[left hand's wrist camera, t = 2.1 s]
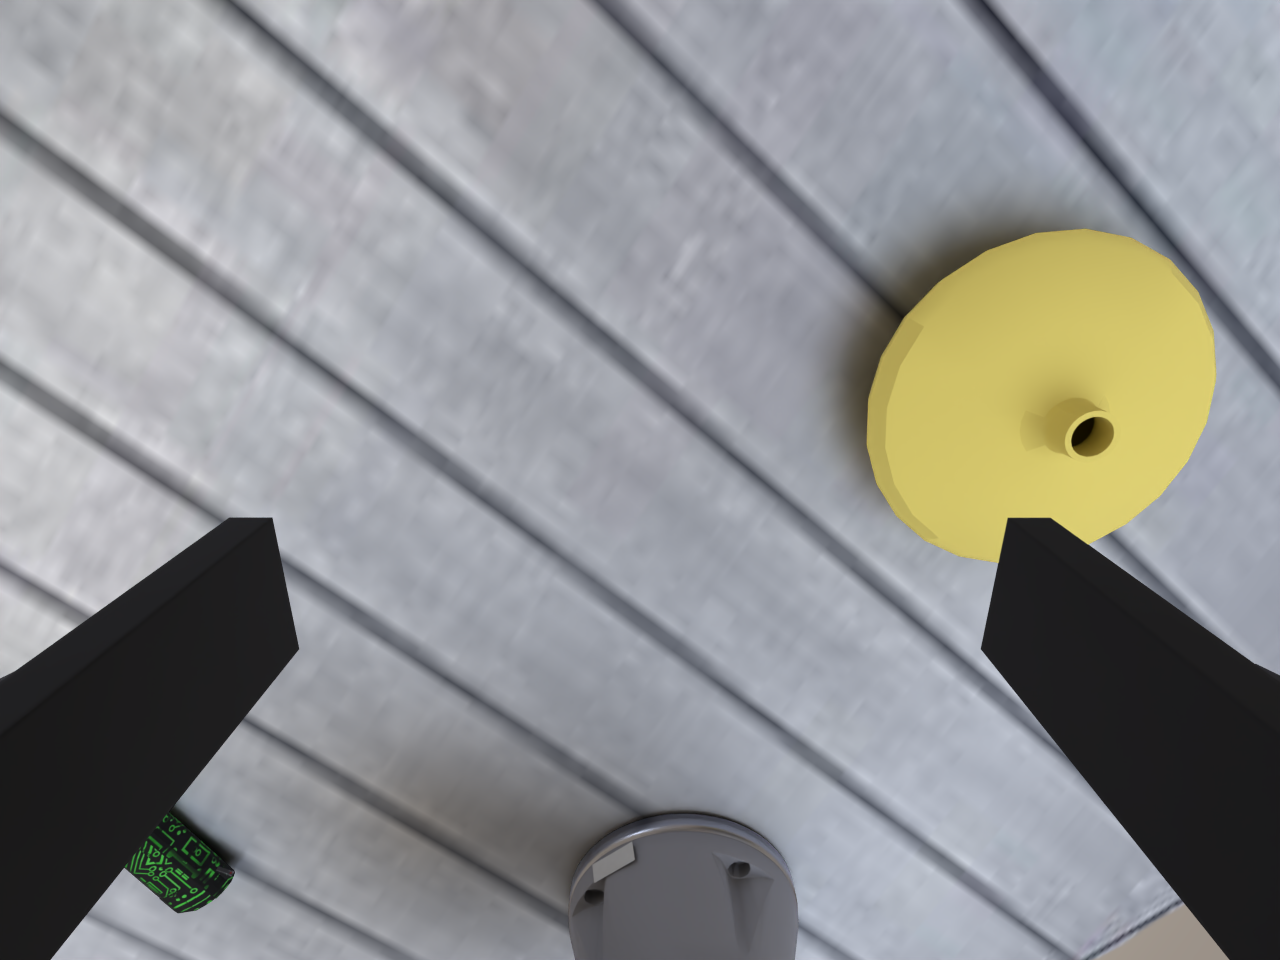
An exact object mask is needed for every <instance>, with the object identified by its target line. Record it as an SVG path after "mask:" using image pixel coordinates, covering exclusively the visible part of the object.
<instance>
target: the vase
mask: <svg viewBox="0 0 1280 960" xmlns="http://www.w3.org/2000/svg"><path fill="white" fill-rule="evenodd" d="M1215 382H1216V362H1215V346H1214V331H1213V328H1212V326H1211V323H1210V321H1209V318H1208V316H1207V313H1206V311H1205V308H1204V306H1203V303H1202V301H1201V298H1200V296H1199V293H1198V291H1197V290H1196V289H1195V288H1194V287H1193V285H1192V284H1191V283H1190V282H1189V281H1188V280H1187V279H1186V277H1185V276H1184V275H1183V274H1182V273H1181V272H1180V270H1179V269H1178V268H1177V267H1176V266H1175V265H1174V264H1173V262H1172V261H1171V260H1170V259H1168V258H1166V257H1165V256H1163V255H1161V254H1159V253H1157V252H1156V251H1154V250H1152V249H1150V248H1149V247H1147V246H1145V245H1143V244H1142V243H1140V242H1138V241H1136V240H1134V239H1133V238H1130V237H1125V236H1120V235H1115V234H1110V233H1105V232H1100V231H1095V230H1090V229H1076V230H1065V231H1054V232H1042V233H1035V234H1032V235H1029V236H1026V237H1023V238H1021V239H1018V240H1015V241H1012V242H1009V243H1007V244H1004V245H1001V246H998V247H995V248H992V249H990V250H987V251H985V252H984V253H982V254H981V255H979V256H978V257H976V258H975V259H973V260H971V261H970V262H968V263H967V264H965V265H964V266H962V267H961V268H959V269H958V270H956V271H955V272H953V273H952V274H950V275H948V276H947V277H945V278H944V279H942V280H941V281H940V282H938V283H937V284H936V285H935V286H934V287H933V288H932V289H931V290H930V291H929V292H928V293H927V294H926V295H925V296H924V297H923V298H922V299H921V301H920V302H919V303H918V304H917V305H916V306H915V307H914V308H913V309H912V310H911V311H910V312H909V313H908V314H907V315H906V316H905V317H904V319H903V320H902V322H901V324H900V325H899V327H898V329H897V330H896V332H895V334H894V335H893V337H892V339H891V340H890V342H889V344H888V345H887V347H886V349H885V350H884V352H883V354H882V355H881V358H880V361H879V364H878V368H877V371H876V374H875V377H874V381H873V384H872V387H871V390H870V394H869V397H868V421H867V449H868V452H869V456H870V460H871V464H872V468H873V472H874V476H875V480H876V484H877V485H878V487H879V489H880V490H881V492H882V493H883V495H884V497H885V498H886V500H887V502H888V503H889V505H890V506H891V508H892V510H893V511H894V513H895V515H896V516H897V517H898V518H899V519H900V520H902V521H903V522H904V523H905V524H906V525H907V526H908V527H910V528H911V529H912V530H913V531H914V532H915V533H916V534H918V535H919V536H920V537H921V538H922V539H923V540H925V541H927V542H929V543H931V544H933V545H935V546H938V547H940V548H942V549H944V550H946V551H949V552H951V553H953V554H955V555H957V556H960V557H966V558H972V559H978V560H984V561H990V562H996V563H999V558H1000V553H1001V548H1002V543H1003V538H1004V533H1005V528H1006V523H1007V519H1008V518H1052V519H1053V520H1055V521H1056V522H1057V523H1059V524H1060V525H1062V526H1063V527H1064V528H1066V529H1067V530H1068V531H1070V532H1071V533H1073V534H1074V535H1075V536H1077V537H1078V538H1080V539H1081V540H1082V541H1084V542H1085V543H1087V544H1090V543H1092V542H1094V541H1096V540H1097V539H1099V538H1101V537H1103V536H1105V535H1107V534H1109V533H1110V532H1112V531H1114V530H1116V529H1118V528H1120V527H1122V526H1123V525H1125V524H1127V523H1128V522H1129V521H1130V520H1132V519H1133V518H1134V517H1135V516H1136V515H1138V514H1139V513H1140V512H1141V511H1142V510H1144V509H1145V508H1146V507H1147V506H1148V505H1150V504H1151V503H1152V502H1153V501H1154V500H1156V499H1157V498H1158V497H1159V496H1160V495H1161V494H1162V493H1163V492H1164V490H1165V489H1166V488H1167V487H1168V485H1169V484H1170V483H1171V482H1172V480H1173V479H1174V478H1175V477H1176V475H1177V474H1178V473H1179V472H1180V470H1181V469H1182V468H1183V467H1184V465H1185V464H1186V463H1187V462H1188V460H1189V457H1190V455H1191V453H1192V451H1193V449H1194V447H1195V445H1196V443H1197V441H1198V439H1199V437H1200V435H1201V433H1202V431H1203V429H1204V427H1205V425H1206V423H1207V419H1208V414H1209V410H1210V405H1211V400H1212V396H1213V391H1214V387H1215Z"/></svg>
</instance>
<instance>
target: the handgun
mask: <svg viewBox="0 0 1280 960" xmlns="http://www.w3.org/2000/svg"><path fill="white" fill-rule="evenodd" d="M124 868H125V869H126V870H128V871H129V872H130V873H131V874H132V875H133V876H135V877H136V878H137V879H138V880H139V881H140V882H142V883H143V884H144V885H145V886H146V887H147V888H149V889H150V890H151V891H152V892H153V893H155V894H156V895H157V896H158V897H159V898H160V899H161V900H162V901H163V902H164V903H165V904H167V905H168V906H169V907H170V908H171V909H173V910H174V911H175V912H177V913H183V912H190V911H196V910H198V909H200V908H202V907H203V906H205V905H207V904H208V903H210V902H211V901H213V900H214V899H215V898H217V897H218V896H219V895H220V894H221V893H222V892H223V891H224V890H225V889H226V888H227V886H228V885H229V884H230V882H231V881H232V879H233V877H234V874H235V872H234V870H233V869H232V868H231V867H230V866H229V865H228V864H227V863H226V862H224V861H223V860H222V859H221V858H220V857H219V856H218V855H217V854H215V853H214V852H213V851H212V850H211V849H210V848H209V847H208V846H206V845H205V844H204V843H203V842H202V841H201V840H200V839H199V838H198V837H196V836H195V835H194V834H193V833H192V832H191V831H190V830H189V829H187V828H186V827H185V826H184V825H183V824H182V823H181V822H180V821H179V820H177V819H176V818H175V817H174V816H173V815H172V814H171V813H170V812H168V814H167V815H166V816H165V817H164V819H163V820H162V821H161V822H160V824H159V825H158V826H157V827H156V829H155V830H154V831H153V832H152V834H151V835H150V836H149V837H148V838H147V840H146V841H145V842H144V843H143V845H142V846H141V847H140V848H139V850H138V851H137V852H136V853H135V855H134V856H133V857H132V858H131V860H130V861H129V862H128V863H127V865H126V866H125V867H124Z"/></svg>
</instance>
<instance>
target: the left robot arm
mask: <svg viewBox="0 0 1280 960" xmlns="http://www.w3.org/2000/svg"><path fill="white" fill-rule="evenodd" d="M298 650H299V646H298V641H297V636H296V631H295V626H294V621H293V617H292V612H291V607H290V602H289V597H288V592H287V587H286V582H285V577H284V572H283V568H282V563H281V558H280V553H279V548H278V543H277V538H276V533H275V528H274V523H273V519H272V518H228V519H227V520H225V521H224V522H223V523H221V524H220V525H218V526H217V527H216V528H214V529H213V530H212V531H210V532H209V533H207V534H206V535H205V536H203V537H202V538H200V539H199V540H198V541H196V542H195V543H193V544H192V545H191V546H189V547H188V548H186V549H185V550H184V551H182V552H181V553H179V554H178V555H177V556H175V557H174V558H172V559H171V560H170V561H168V562H167V563H165V564H164V565H163V566H161V567H160V568H159V569H157V570H156V571H154V572H153V573H152V574H150V575H149V576H147V577H146V578H145V579H143V580H142V581H140V582H139V583H138V584H136V585H135V586H133V587H132V588H131V589H129V590H128V591H126V592H125V593H124V594H122V595H121V596H119V597H118V598H117V599H115V600H114V601H112V602H111V603H110V604H108V605H107V606H106V607H104V608H103V609H101V610H100V611H99V612H97V613H96V614H94V615H93V616H92V617H90V618H89V619H87V620H86V621H85V622H83V623H82V624H80V625H79V626H78V627H76V628H75V629H73V630H72V631H71V632H69V633H68V634H66V635H65V636H64V637H62V638H61V639H59V640H58V641H57V642H55V643H54V644H53V645H51V646H50V647H48V648H47V649H46V650H44V651H43V652H41V653H40V654H39V655H37V656H36V657H34V658H33V659H32V660H30V661H29V662H27V663H26V664H25V665H23V666H22V667H20V668H19V669H18V670H16V671H15V672H13V673H11V674H9V675H7V676H5V677H2V678H0V960H51V958H52V957H53V956H54V955H55V953H56V952H57V951H58V950H59V948H60V947H61V946H62V945H63V943H64V942H65V941H66V940H67V938H68V937H69V936H70V935H71V933H72V932H73V931H74V930H75V928H76V927H77V926H78V925H79V923H80V922H81V921H82V920H83V918H84V917H85V916H86V915H87V913H88V912H89V911H90V910H91V908H92V907H93V906H94V905H95V903H96V902H97V901H98V900H99V898H100V897H101V896H102V895H103V893H104V892H105V891H106V890H107V888H108V887H109V886H110V885H111V883H112V882H113V881H114V880H115V878H116V877H117V876H118V875H119V873H120V872H121V871H122V870H123V868H124V867H125V866H126V865H127V863H128V862H129V861H130V860H131V858H132V857H133V856H134V855H135V853H136V852H137V851H138V850H139V848H140V847H141V846H142V845H143V843H144V842H145V841H146V840H147V838H148V837H149V836H150V835H151V834H152V832H153V831H154V830H155V829H156V827H157V826H158V825H159V824H160V822H161V821H162V820H163V819H164V817H165V816H166V815H167V814H168V812H169V811H170V810H171V809H172V807H173V806H174V805H175V804H176V802H177V801H178V800H179V799H180V797H181V796H182V795H183V794H184V792H185V791H186V790H187V789H188V787H189V786H190V785H191V784H192V782H193V781H194V780H195V779H196V777H197V776H198V775H199V774H200V772H201V771H202V770H203V769H204V767H205V766H206V765H207V764H208V762H209V761H210V760H211V759H212V757H213V756H214V755H215V754H216V752H217V751H218V750H219V749H220V747H221V746H222V745H223V744H224V742H225V741H226V740H227V739H228V737H229V736H230V735H231V734H232V732H233V731H234V730H235V729H236V727H237V726H238V725H239V724H240V722H241V721H242V720H243V719H244V717H245V716H246V715H247V714H248V712H249V711H250V710H251V709H252V707H253V706H254V705H255V704H256V702H257V701H258V700H259V699H260V697H261V696H262V695H263V694H264V692H265V691H266V690H267V689H268V687H269V686H270V685H271V684H272V682H273V681H274V680H275V679H276V677H277V676H278V675H279V674H280V672H281V671H282V670H283V669H284V667H285V666H286V665H287V664H288V662H289V661H290V660H291V659H292V657H293V656H294V655H295V654H296V652H297V651H298ZM981 650H982V651H983V652H984V654H985V655H986V656H987V657H988V659H989V660H990V661H991V662H992V664H993V665H994V666H995V667H996V669H997V670H998V671H999V672H1000V674H1001V675H1002V676H1003V677H1004V679H1005V680H1006V681H1007V682H1008V684H1009V685H1010V686H1011V687H1012V689H1013V690H1014V691H1015V692H1016V694H1017V695H1018V696H1019V697H1020V699H1021V700H1022V701H1023V702H1024V704H1025V705H1026V706H1027V707H1028V709H1029V710H1030V711H1031V712H1032V714H1033V715H1034V716H1035V717H1036V719H1037V720H1038V721H1039V722H1040V724H1041V725H1042V726H1043V727H1044V729H1045V730H1046V731H1047V732H1048V734H1049V735H1050V736H1051V737H1052V739H1053V740H1054V741H1055V742H1056V744H1057V745H1058V746H1059V747H1060V749H1061V750H1062V751H1063V752H1064V754H1065V755H1066V756H1067V757H1068V759H1069V760H1070V761H1071V762H1072V764H1073V765H1074V766H1075V767H1076V769H1077V770H1078V771H1079V772H1080V774H1081V775H1082V776H1083V777H1084V779H1085V780H1086V781H1087V782H1088V784H1089V785H1090V786H1091V787H1092V789H1093V790H1094V791H1095V792H1096V794H1097V795H1098V796H1099V797H1100V799H1101V800H1102V801H1103V802H1104V804H1105V805H1106V806H1107V807H1108V809H1109V810H1110V811H1111V812H1112V814H1113V815H1114V816H1115V817H1116V819H1117V820H1118V821H1119V822H1120V824H1121V825H1122V826H1123V827H1124V829H1125V830H1126V831H1127V832H1128V834H1129V835H1130V836H1131V837H1132V839H1133V840H1134V841H1135V842H1136V843H1137V845H1138V846H1139V847H1140V848H1141V850H1142V851H1143V852H1144V853H1145V855H1146V856H1147V857H1148V858H1149V860H1150V861H1151V862H1152V863H1153V865H1154V866H1155V867H1156V868H1157V870H1158V871H1159V872H1160V873H1161V875H1162V876H1163V877H1164V878H1165V880H1166V881H1167V882H1168V883H1169V885H1170V886H1171V887H1172V888H1173V890H1174V891H1175V892H1176V893H1177V895H1178V896H1179V897H1180V898H1181V900H1182V901H1183V902H1184V903H1185V905H1186V906H1187V907H1188V908H1189V910H1190V911H1191V912H1192V913H1193V915H1194V916H1195V917H1196V918H1197V920H1198V921H1199V922H1200V923H1201V925H1202V926H1203V927H1204V928H1205V930H1206V931H1207V932H1208V933H1209V935H1210V936H1211V937H1212V938H1213V940H1214V941H1215V942H1216V943H1217V945H1218V946H1219V947H1220V948H1221V950H1222V951H1223V952H1224V953H1225V955H1226V956H1227V957H1228V958H1229V960H1280V675H1278V674H1276V673H1274V672H1272V671H1269V670H1267V669H1265V668H1263V667H1261V666H1259V665H1257V664H1254V663H1253V662H1251V661H1250V660H1248V659H1247V658H1246V657H1244V656H1243V655H1241V654H1240V653H1239V652H1237V651H1236V650H1234V649H1233V648H1232V647H1230V646H1229V645H1227V644H1226V643H1225V642H1223V641H1222V640H1221V639H1219V638H1218V637H1216V636H1215V635H1214V634H1212V633H1211V632H1209V631H1208V630H1207V629H1205V628H1204V627H1202V626H1201V625H1200V624H1198V623H1197V622H1195V621H1194V620H1193V619H1191V618H1190V617H1188V616H1187V615H1186V614H1184V613H1183V612H1181V611H1180V610H1179V609H1177V608H1176V607H1174V606H1173V605H1172V604H1170V603H1169V602H1168V601H1166V600H1165V599H1163V598H1162V597H1161V596H1159V595H1158V594H1156V593H1155V592H1154V591H1152V590H1151V589H1149V588H1148V587H1147V586H1145V585H1144V584H1142V583H1141V582H1140V581H1138V580H1137V579H1135V578H1134V577H1133V576H1131V575H1130V574H1128V573H1127V572H1126V571H1124V570H1123V569H1121V568H1120V567H1119V566H1117V565H1116V564H1115V563H1113V562H1112V561H1110V560H1109V559H1108V558H1106V557H1105V556H1103V555H1102V554H1101V553H1099V552H1098V551H1096V550H1095V549H1094V548H1092V547H1091V546H1089V545H1088V544H1087V543H1085V542H1084V541H1082V540H1081V539H1080V538H1078V537H1077V536H1075V535H1074V534H1073V533H1071V532H1070V531H1068V530H1067V529H1066V528H1064V527H1063V526H1062V525H1060V524H1059V523H1057V522H1056V521H1055V520H1053V519H1052V518H1008V519H1007V523H1006V528H1005V533H1004V538H1003V543H1002V548H1001V553H1000V558H999V563H998V568H997V572H996V577H995V582H994V587H993V592H992V597H991V602H990V607H989V612H988V617H987V621H986V626H985V631H984V636H983V641H982V646H981ZM568 915H569V932H570V938H571V943H572V947H573V951H574V956H575V960H795V952H796V943H797V934H798V907H797V899H796V894H795V889H794V885H793V881H792V877H791V874H790V871H789V868H788V866H787V864H786V862H785V861H784V859H783V858H782V856H781V855H780V854H779V852H778V851H777V850H776V849H775V848H774V847H773V846H772V845H771V844H770V843H769V842H768V841H767V840H765V839H764V838H763V837H762V836H760V835H759V834H757V833H755V832H754V831H752V830H750V829H748V828H746V827H744V826H742V825H740V824H737V823H735V822H732V821H729V820H726V819H722V818H718V817H713V816H707V815H700V814H669V815H661V816H655V817H650V818H646V819H642V820H639V821H636V822H633V823H630V824H628V825H626V826H623V827H621V828H619V829H617V830H615V831H613V832H612V833H610V834H609V835H607V836H606V837H604V838H603V839H601V840H600V841H599V842H598V843H596V844H595V845H594V846H593V847H592V848H591V849H590V850H589V851H588V853H587V854H586V855H585V856H584V857H583V859H582V860H581V862H580V863H579V865H578V867H577V869H576V871H575V874H574V876H573V879H572V884H571V890H570V899H569V911H568Z"/></svg>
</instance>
